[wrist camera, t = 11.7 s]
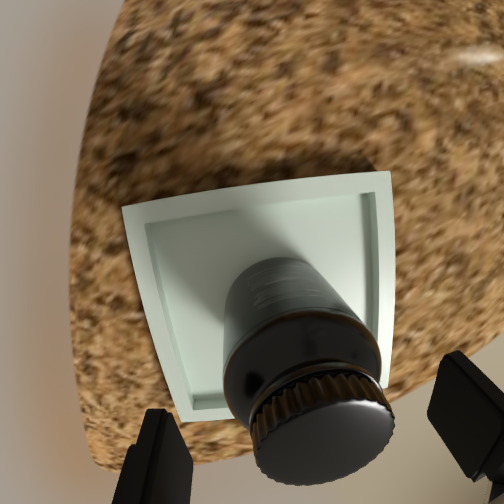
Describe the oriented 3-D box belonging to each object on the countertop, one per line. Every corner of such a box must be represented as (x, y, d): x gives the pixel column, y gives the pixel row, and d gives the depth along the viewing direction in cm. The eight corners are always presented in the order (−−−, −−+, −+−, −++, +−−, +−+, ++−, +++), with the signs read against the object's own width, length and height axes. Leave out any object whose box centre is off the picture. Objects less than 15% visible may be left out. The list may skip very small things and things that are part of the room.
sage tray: (131, 204, 18) (121, 207, 17) (377, 171, 19) (390, 170, 17) (184, 407, 22) (181, 422, 20) (378, 374, 22) (387, 387, 21)
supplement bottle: (209, 332, 20) (190, 483, 8) (250, 237, 19) (277, 333, 7) (301, 362, 21) (350, 502, 9) (347, 278, 20) (457, 384, 8)
